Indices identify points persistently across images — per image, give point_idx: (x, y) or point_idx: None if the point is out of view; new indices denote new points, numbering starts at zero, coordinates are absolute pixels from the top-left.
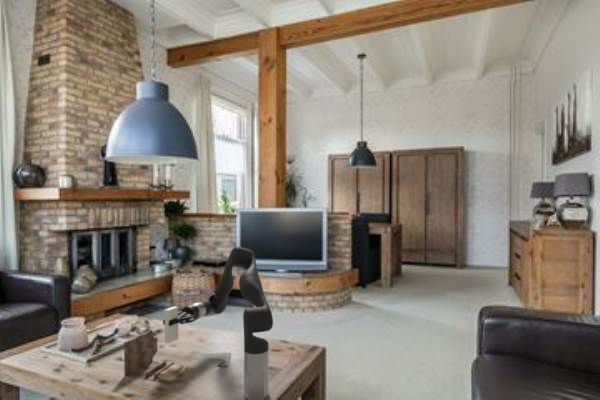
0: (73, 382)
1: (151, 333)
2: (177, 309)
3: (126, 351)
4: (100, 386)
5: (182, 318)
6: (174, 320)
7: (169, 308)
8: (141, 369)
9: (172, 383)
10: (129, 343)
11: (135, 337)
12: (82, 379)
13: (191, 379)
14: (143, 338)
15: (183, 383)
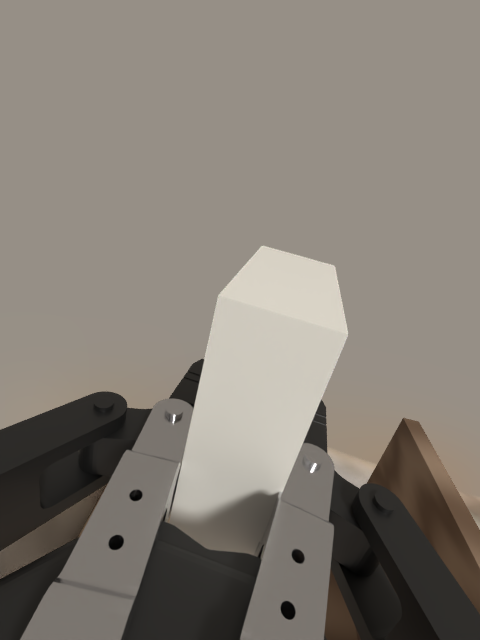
0: (469, 496)
1: None
2: (214, 330)
3: (384, 452)
4: (366, 476)
5: (86, 397)
6: (189, 385)
7: (317, 279)
8: (340, 627)
9: (107, 484)
10: (405, 442)
11: (452, 491)
12: (474, 519)
13: (7, 567)
14: (457, 579)
15: (55, 518)
